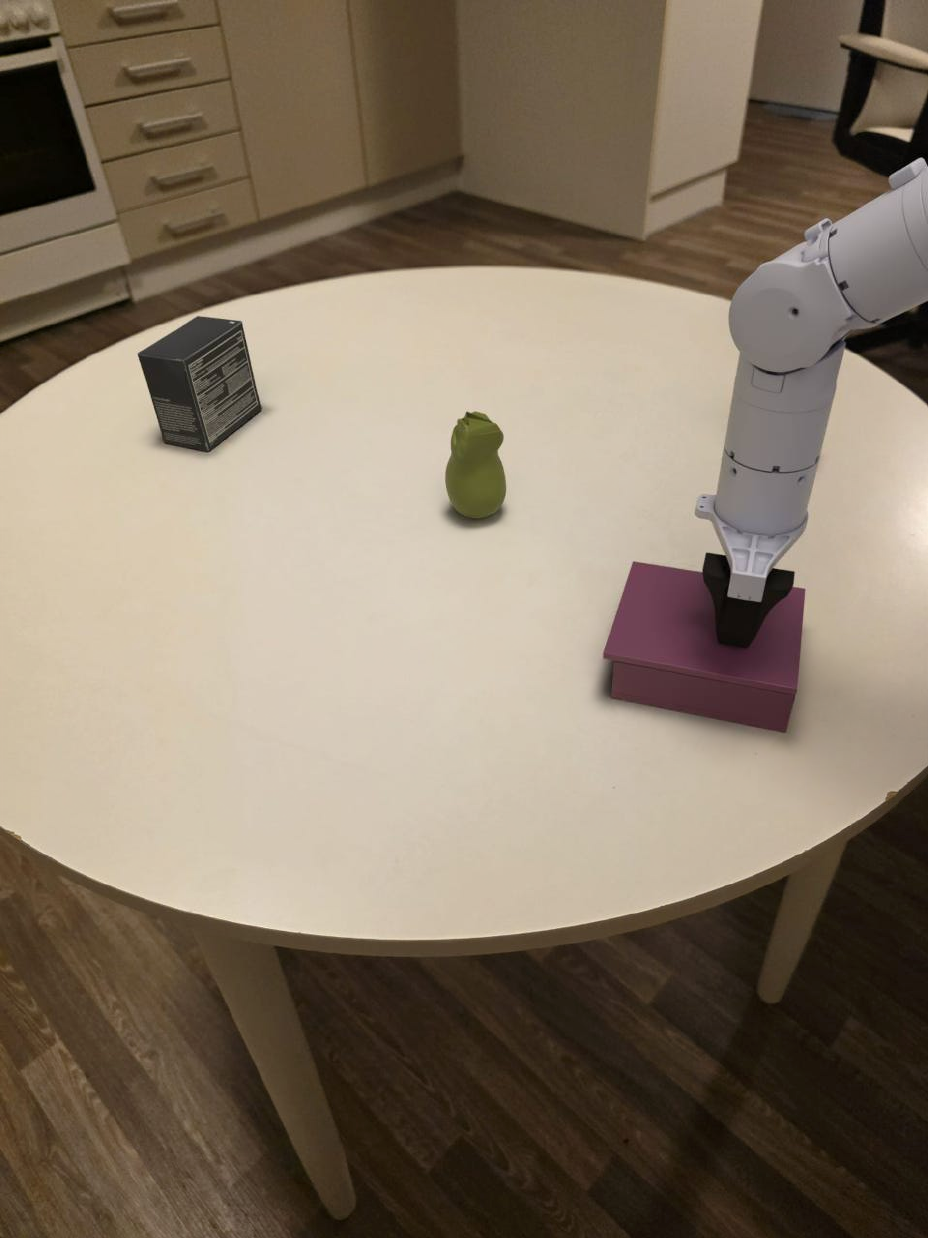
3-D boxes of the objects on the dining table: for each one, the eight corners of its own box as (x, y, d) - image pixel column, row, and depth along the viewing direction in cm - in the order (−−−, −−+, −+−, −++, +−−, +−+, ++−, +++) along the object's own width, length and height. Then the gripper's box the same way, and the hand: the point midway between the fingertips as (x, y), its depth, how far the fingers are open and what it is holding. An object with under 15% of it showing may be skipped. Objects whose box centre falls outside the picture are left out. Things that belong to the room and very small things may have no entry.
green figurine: (486, 491, 88) (483, 396, 81) (518, 515, 84) (517, 418, 78) (437, 510, 85) (430, 414, 79) (468, 535, 82) (464, 437, 76)
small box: (217, 400, 105) (196, 312, 99) (264, 409, 103) (246, 319, 96) (160, 443, 98) (133, 350, 91) (209, 453, 96) (185, 359, 89)
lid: (602, 658, 63) (606, 612, 61) (632, 566, 71) (636, 522, 69) (795, 695, 60) (808, 648, 57) (804, 594, 68) (815, 549, 65)
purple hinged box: (610, 697, 66) (613, 661, 63) (638, 604, 74) (642, 569, 71) (785, 733, 62) (795, 696, 60) (794, 631, 70) (804, 595, 68)
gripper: (719, 391, 62) (694, 551, 71) (689, 502, 52) (665, 674, 60) (827, 402, 60) (788, 566, 69) (819, 520, 50) (774, 695, 58)
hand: (737, 618), depth 64 cm, fingers closed on lid, 5 cm apart
